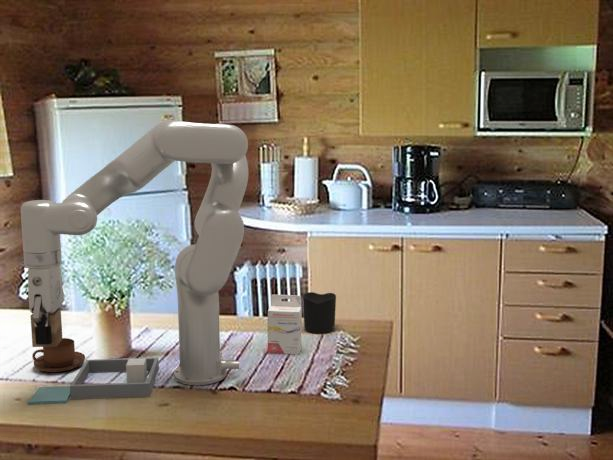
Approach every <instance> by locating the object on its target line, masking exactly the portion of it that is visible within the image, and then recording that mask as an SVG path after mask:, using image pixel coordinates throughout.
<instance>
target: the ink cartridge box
mask: <svg viewBox="0 0 613 460" xmlns="http://www.w3.org/2000/svg"><path fill="white" fill-rule="evenodd" d="M285 299H287V300H289V301H287V300H286V301H285ZM302 308H303V307H302V297H301V295H298V294H297V295H294V294H293V295H292V294H291V295H290V294H271V295H270V306H269V308H268V310H267V354H278V353H279V355H300V353H301V350H302V312H303V311H302V310H303V309H302Z"/></svg>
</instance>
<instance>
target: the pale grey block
mask: <svg viewBox="0 0 613 460" xmlns="http://www.w3.org/2000/svg"><path fill="white" fill-rule="evenodd" d="M125 374H126V383H139V382H147V379H148V371H147V366H146V359H129V360H128V362H127V364H126V372H125Z"/></svg>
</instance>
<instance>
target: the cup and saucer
mask: <svg viewBox="0 0 613 460" xmlns="http://www.w3.org/2000/svg"><path fill="white" fill-rule="evenodd" d="M75 349H76V347H75V340H74V339H72V338H66V337H65V338H64V337H62V340H61V341H60V343H59V344H58V345H57V346H56V347H42V349H36V350H35V351H33V353H32V355H31V356H32V360H33V365H34V366H33V367H35V368H36V369H37V370H39V371H42V372H46V373H47V372H48V373H59V372H66V371H70V370H73V369H76V368H77V367H79V366H81V365H83V364H84V363H85V361H86V356H85V354H84V353H82V352H80V351H75ZM38 353H42V354H43V355H41V356H38V357H36V354H38Z"/></svg>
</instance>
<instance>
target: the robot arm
mask: <svg viewBox="0 0 613 460" xmlns="http://www.w3.org/2000/svg"><path fill="white" fill-rule="evenodd" d="M248 148H249V140H248V137H247V135H246V134H245V132H244V131H243V130H242V129H241V128H239V126H236V125H233V124H225V123H205V122H204V123H203V122H192V121H191V122H190V121H182V120H176V119H166V120H162V121H160V122H159V123H157V124H156V125H155V126H153V127H152V128H151V129H150V130H148V131H147V132H146V133H145V134H144V135H143V136H141V137H140V138H139V139H138V140H137V141H135V142H134V143H133V144H132V145H130V146H129V147H127V149H126V150H124V151H122V153H120V154H119V155H118V156H117V157H115V158H114V159H113V160H111V161H110V162H109V163H107V164H106V165H105V166H104V167H103V168H102V169H100V170H99V171H98V172H96V173H94V175H93V176H91V177H90V178H88V179H87V180H86V181H85V182H83V183H82V184H81V185H80V186H79V187H77V188H76V189H74V191H73V192H71V193H70V194H69V195H67V197H65V199H64V200H63V201H62V202H58V203H57V202H55V201H54V200H49V199H47V200H46V199H38V200H37V199H36V200H29V201H25V202H23V203H22V205H21V206H20V220H21V236H22V238H21V239H22V249H23V252H22V253H23V267H24V268H27V271H28V272H27V286H28V287H27V290H28V293H27V294H28V307H29V312H30V313H31V314H33V319H34V321H35V322H34V326H35V338H36V344H37V345H42V344H51V343H52V335H51V326H49V312H50V313H54V312H55V311H56V310H57V309H60V307H61V306H62V305H63V304H64V298H65V297H64V288H63V278H62V271H61V270H62V269H61V265H62V262H63V261H62V250H61V249H62V248H61V247H62V246H61V245H62V244H61V235H66V236H67V235H69V236H84V235H87V234H89V233H91V232H92V231H93V230H94V229H95V228H96V225H97V223H98V215H100V214H101V213H103V211H104V210H106V209H107V208H108V207H109V206H111V204H113V203H114V202H116V201H117V200H119V199H121V198H123V197H124V196H125V197H126V196H127V195H130V194H134V193H135V192H137V191H140V190H141V189H143V188H144V187H145V186H146V185H148V184H149V183H150V182H152V180H154V178H156V177H157V176H158V175H159V174H160V173H162V172H163V171H165V169H166V168H168V167H169V166H171V165H172V164H173V163H174V162H185V163H196V164H197V163H199V164H200V163H202V164H211V176H210V179H209V183H208V186H207V187H206V191H205V194H204V196H203V199H202V201H201V204H200V206H199V209H198V211H197V213H196V216H195V219H194V222H193V223H194V224H193V225H194V229H195V232H196V233H197V235H198V238H197V241H196V242H195V244H189V245H187V246H185V247H184V248H183V249H181V251H179V253H178V255H177V257H176V259H175V262H174V263H175V264H174V274H175V276H174V277H175V285H176V286H175V287H176V292H177V294H176V295H177V312H178V313H177V317H178V318H177V319H178V321H177V322H178V344H179V345H178V346H179V349H178V350H179V366H178V367H176V368H175V369H174V370H173V378H174V380H175V381H176V382H178V383H180V384H184V385H188V386H204V385H211V384H214V383H218V382H220V381H222V380H223V379H225V378H226V377H227V375H228V370H240V360H235V358H234V357H233V358H225V357H223V352H221V342H220V341H221V340H220V339H221V338H220V337H221V336H220V335H221V333H220V300H219V299H220V298H219V296H220V295H219V291H220V290H221V289H222V288H223V287H224V286H225V284H226V282H227V281H228V279H229V276H230V273H231V271H232V269H233V266H234V263H235V261H236V260H237V257H238V254H239V251H240V249H241V246H242V242H243V240H244V236H245V224H244V219H243V218H242V216H241V215H240V213H239V211H240V207H241V205H242V202H243V199H244V196H245V193H246V191H247V190H246V189H247V186H248V181H249V165H248V160H247V157H246V154H247V152H248ZM41 309H45V310H46V312H41ZM42 315H45V318H44V317H42Z"/></svg>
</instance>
